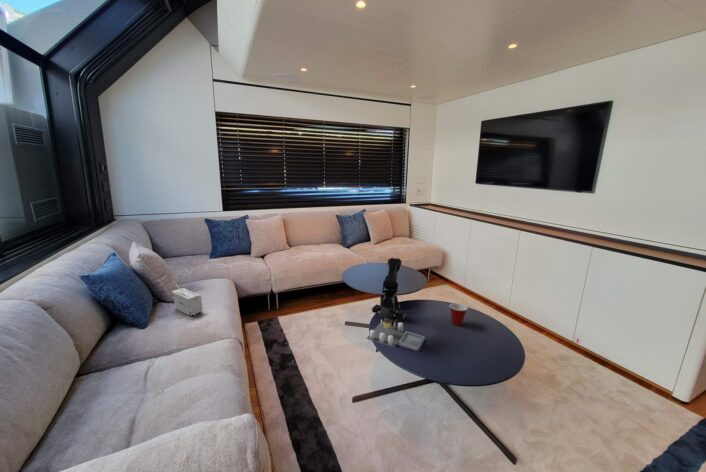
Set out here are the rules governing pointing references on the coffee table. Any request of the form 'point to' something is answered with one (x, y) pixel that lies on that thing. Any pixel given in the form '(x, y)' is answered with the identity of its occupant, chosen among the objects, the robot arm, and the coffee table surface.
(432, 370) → the coffee table surface
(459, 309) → the plastic cup
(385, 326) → the tan faceted polyhedron
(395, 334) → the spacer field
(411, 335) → the nut tray
